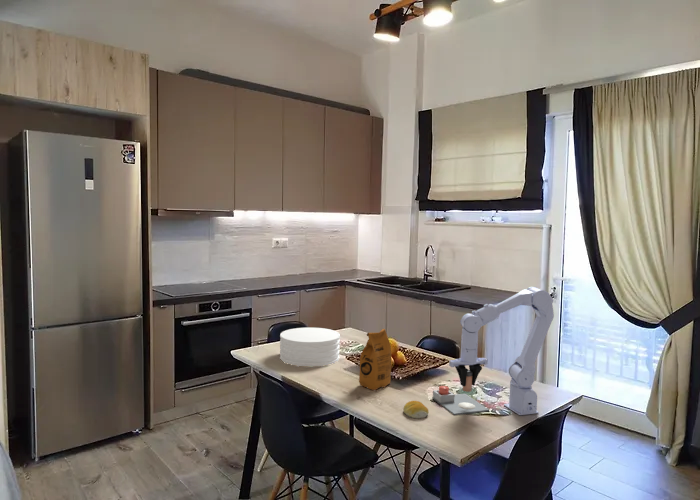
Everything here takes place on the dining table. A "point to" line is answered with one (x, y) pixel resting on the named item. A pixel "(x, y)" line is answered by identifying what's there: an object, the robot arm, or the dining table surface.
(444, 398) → the board
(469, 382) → the spice jar
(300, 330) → the plate stack
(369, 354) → the coffee package
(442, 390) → the button
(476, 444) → the dining table surface
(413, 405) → the bread roll
